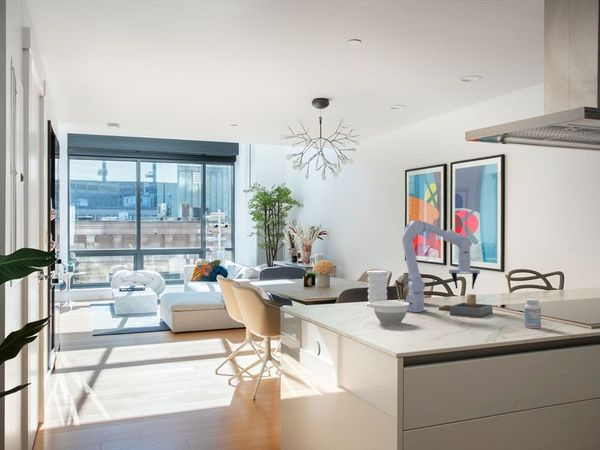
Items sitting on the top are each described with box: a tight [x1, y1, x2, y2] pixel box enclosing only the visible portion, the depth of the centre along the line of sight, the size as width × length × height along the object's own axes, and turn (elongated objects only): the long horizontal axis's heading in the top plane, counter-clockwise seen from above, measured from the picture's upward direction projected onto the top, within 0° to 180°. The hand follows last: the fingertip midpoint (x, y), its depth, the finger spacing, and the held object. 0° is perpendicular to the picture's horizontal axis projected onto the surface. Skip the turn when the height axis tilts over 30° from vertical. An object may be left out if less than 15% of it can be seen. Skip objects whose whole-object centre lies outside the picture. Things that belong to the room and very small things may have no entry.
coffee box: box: [403, 272, 422, 302], centre depth 298 cm, size 9×6×16 cm
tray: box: [449, 302, 494, 319], centre depth 256 cm, size 15×15×4 cm
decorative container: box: [366, 270, 389, 307], centre depth 289 cm, size 12×12×18 cm
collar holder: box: [438, 304, 452, 312], centre depth 271 cm, size 8×8×2 cm
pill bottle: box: [523, 298, 542, 330], centre depth 220 cm, size 6×6×11 cm
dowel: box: [466, 293, 477, 308], centre depth 256 cm, size 4×4×8 cm
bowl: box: [372, 300, 410, 326], centre depth 234 cm, size 16×16×9 cm
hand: (464, 288), depth 270 cm, fingers open, 7 cm apart
